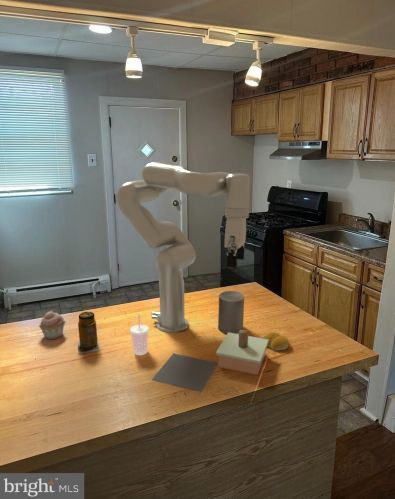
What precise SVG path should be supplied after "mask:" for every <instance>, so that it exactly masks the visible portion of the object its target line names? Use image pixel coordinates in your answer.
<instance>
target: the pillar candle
mask: <svg viewBox="0 0 395 499" xmlns="http://www.w3.org/2000/svg"><path fill="white" fill-rule="evenodd" d="M244 311H245V295H244V294H243V293H241V292H240V291H237V290H226V291H222V292H220V293H219V295H218V314H217V316H218V319H217V320H218V322H217V323H218V324H217V328H218V330H219V331H220V332H221V333H223V334H226V335H227V334H228V332H229V333H235V334H239V331H240V330H244V317H245V316H244V314H245V313H244Z"/></svg>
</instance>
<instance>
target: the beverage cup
mask: <svg viewBox="0 0 395 499" xmlns="http://www.w3.org/2000/svg"><path fill="white" fill-rule="evenodd" d="M137 318H138V324H135V325H133V326H131V327H130V330H129V331H130V334H131V341H132V343H131V344H132V349H133V350H132V351H133V354H134V355H136V356H143V355H146V354H147V353H148V335H149V326H148V325H146V324H141V316H140V314H138V316H137Z"/></svg>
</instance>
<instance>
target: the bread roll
mask: <svg viewBox="0 0 395 499" xmlns="http://www.w3.org/2000/svg"><path fill="white" fill-rule="evenodd" d="M262 339H268V340H269V342H268V344H267V347H266V348H270V349H272V350H273V351H284V350H287V349H288V348H289V345H290V341H289V339H288V338H287V337H286V336H284V335H280V334H279V333H278V332H276V331H271V332H268V333H267V334H266V335H264V336H263V338H262Z"/></svg>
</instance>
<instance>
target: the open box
mask: <svg viewBox="0 0 395 499" xmlns="http://www.w3.org/2000/svg"><path fill="white" fill-rule="evenodd" d="M266 349H267V348H266ZM266 349H265V352H264V355H263V357H262V360H261V362H260V364H259V363H254V362H249V361H244V360H239V359H234V358H229V357H224V356H220V355H218V362H217V363H218V364H217V367H218V368H221V369H226V370H230V371H234V372H239V373H245V374H249V375H254V376H256V377H257V376H258V375H259V372H260V370H261V368H262V365H263V361H264V359H265V357H266V354H267V353H266Z"/></svg>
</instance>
